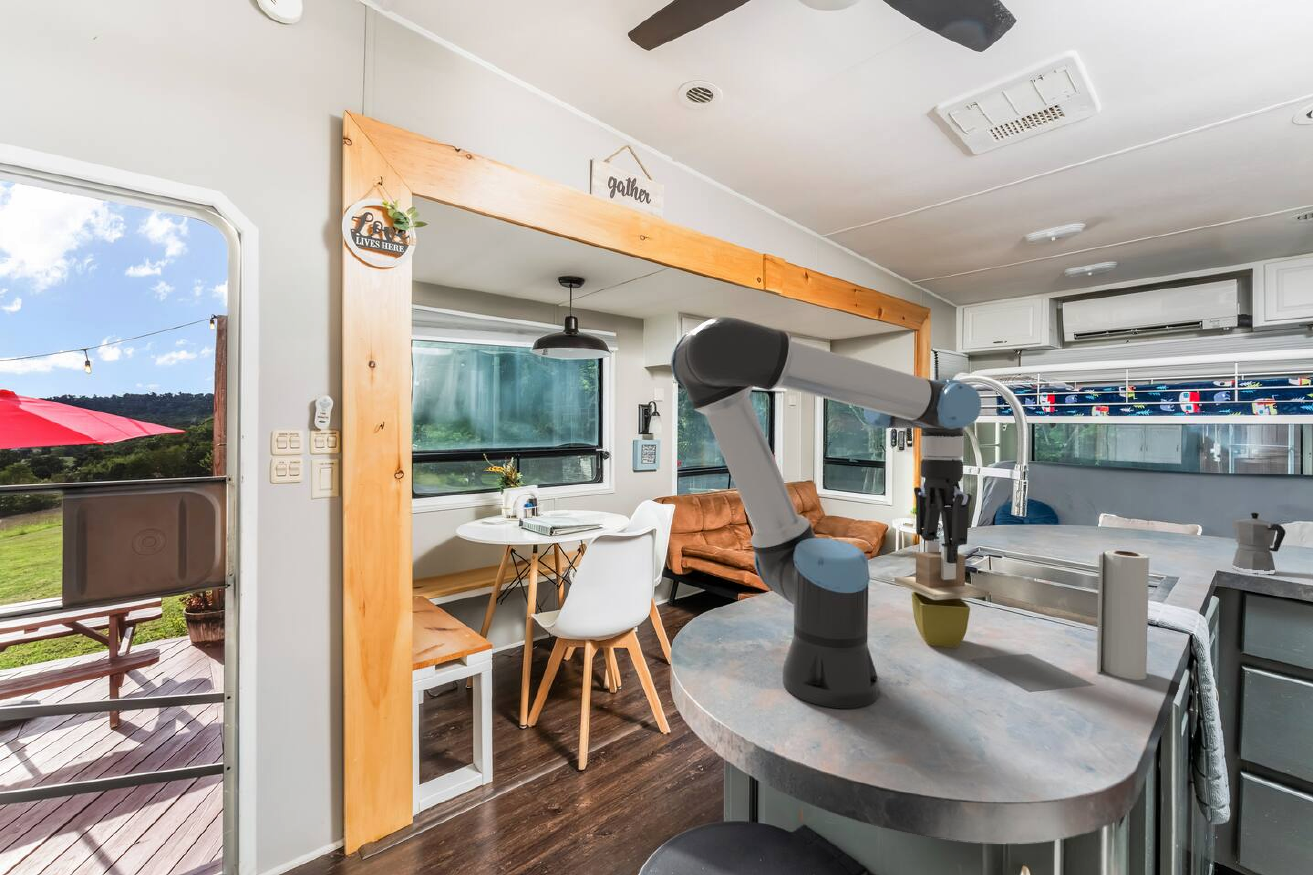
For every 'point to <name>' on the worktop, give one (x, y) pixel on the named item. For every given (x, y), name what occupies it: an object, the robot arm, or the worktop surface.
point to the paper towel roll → (1123, 614)
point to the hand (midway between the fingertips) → (939, 575)
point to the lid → (939, 579)
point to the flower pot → (940, 620)
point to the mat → (1030, 672)
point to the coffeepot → (1256, 543)
